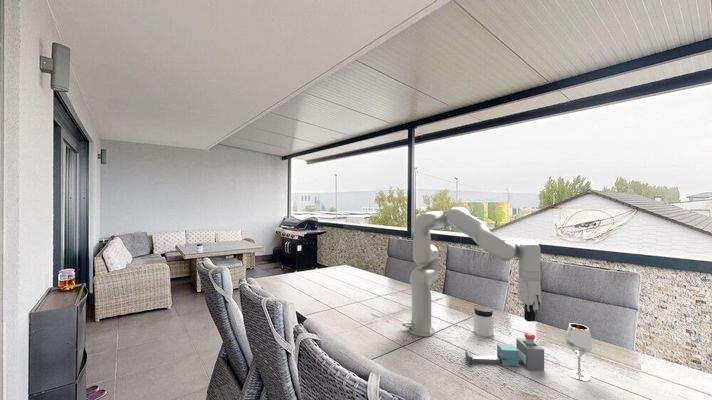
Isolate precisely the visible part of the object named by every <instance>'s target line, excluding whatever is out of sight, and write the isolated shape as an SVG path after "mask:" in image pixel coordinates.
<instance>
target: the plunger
mask: <svg viewBox="0 0 712 400" xmlns="http://www.w3.org/2000/svg"><path fill="white" fill-rule="evenodd" d="M523 335H524V338H526V345H527V346H534V341H535V339H536V336H535V334H534V333H531V332H525V333H524V334H523Z"/></svg>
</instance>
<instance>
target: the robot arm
mask: <svg viewBox="0 0 712 400" xmlns="http://www.w3.org/2000/svg"><path fill="white" fill-rule="evenodd" d="M449 227H454V228H455V229H457V230H459V231H460V232H462V233H464V235H467V236H468V237H469V238H471V240H472V241H474V243H476V244H477V245H478V246H479V247H480V248H481V249H483V250H484V251H486V252H487V253H488V254H490V255H491V256H493V257H494V258H495V259H497V260H499V261H502V262H510V261H512V260H513V259H518V278H517V283H516V284H517V287H516V298H517V299H518V300H519V301H520V302H522V304H523V309H524V310H523V313H524V314H523V315H524V320H525V321H526V322H529V323H530V322H536V311H539V310H540V309H539V307H540V306H541V305H542V287H541V277H542V276H541V275H542V274H541V246H540V244H538V243H536V242H519V241H514V240H503V239H502V238H499V237H498V236H496V235H495V234H493V233H492V232H491V230H489V229H488V227H487V225H486V224H485V222H484V221H482V220H479V219H478V218H477V217H475V216H473V215H471V213H470V211H469V210H468V209H467V208H465V207H464V206H452V207H451V208H448V209H444V210H439V211H435V210H434V211H432V210H431V211H427V212H423V213H421V214H420V215H418V216H416V218H415V220H414V222H413V230H412V231H413V234H412V235H413V241H412V245H413V246H412V248H413V249H412V258H413V261H414V262H415V264H417V265H419V266H418V267H416V268H415V269H413V270H411V273H410V276H409V283H410V288H411V319H410V321H408V322H407V321H402V322H401V324H402V325H401V326H402V327H405V328H406V329H407V328H408V331H409V333H410V334H411V335H414V336H417V337H421V338H423V337H425V338H426V337H427V338H428V337H432V336H433V335H434V334H435V328H434V327H432V292H431V287H430V285H431V284H433V283H435V282H436V281H437V280H438V278H439V271H440V270H439V269H440V267H439V266H440V262H439V261H440V254H439V250H438V249H437V247H436V246H435V245H434V244H432V237H431V232H430V231H431V230H434V229H442V228H449Z"/></svg>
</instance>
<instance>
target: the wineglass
mask: <svg viewBox="0 0 712 400" xmlns="http://www.w3.org/2000/svg"><path fill="white" fill-rule="evenodd" d="M564 341H565V343H566V345H567V346H568V347H569V349H571V350H572V352H574V354H576V356H577V370H574V369H573V370H572V369H571V370H569V371H568V375H569V376H571V378H573V379H576V380H579V381H582V382H583V381H584V382H588V381H590V380H591V377H590V375H588V374H587V373H585V372H583V371H581V358H582V356H583V355H586V354H588V353H590V352H591V351H592V349H593V348H594V342H593V339H592V334H591V332H590V329H589V327H588V326H586V325H583V324H580V323H569V324H568V327H567V330H566V333H565V340H564Z"/></svg>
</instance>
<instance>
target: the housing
mask: <svg viewBox="0 0 712 400" xmlns="http://www.w3.org/2000/svg"><path fill="white" fill-rule="evenodd" d="M515 340H516V342H515V343H516V344H515V345H516V346H515V348H516V349H517V350H518V351H519V357H520V358H521V359H522V360H523V362H524V365H523V367H525V369H526V370H527V371H540V372H542V371H543V372H544V371H545V349H544V347H542V346H541V345H539V343H538V342H536V341H535V340H534V346H527V345H526V337H524V338H523V337H522V338H520V337H516V339H515Z"/></svg>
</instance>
